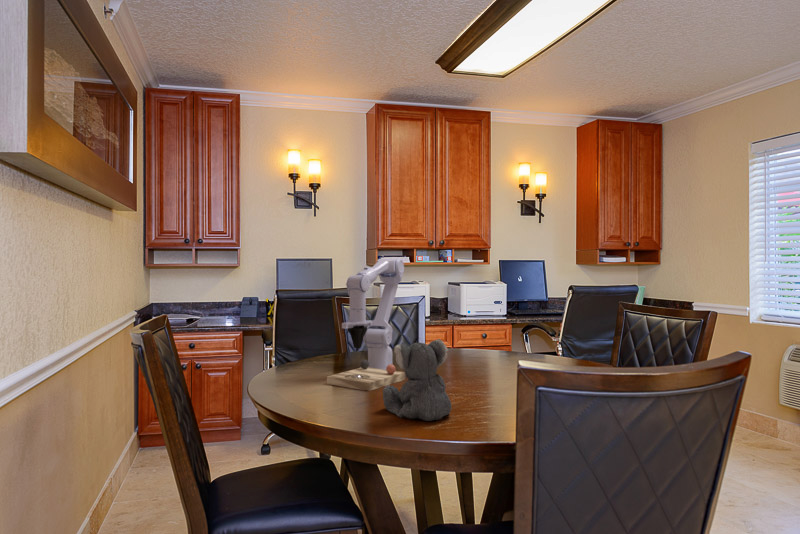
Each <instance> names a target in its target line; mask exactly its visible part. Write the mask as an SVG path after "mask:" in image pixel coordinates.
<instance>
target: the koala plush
mask: <svg viewBox="0 0 800 534" xmlns="http://www.w3.org/2000/svg"><path fill="white" fill-rule="evenodd" d="M393 350H394V354H395V362H396V364H397V365H398V366H399V368H400V369H401V370H403V372H405V378H407V380H406V381H405V382H404V383H403V385H401V387H400V390H399V389H398V388H397V387H396V386H394V385H387V386H384V388H383V389H382V399H383V405H384V408H385V410H386V411H388V412H389V413H391V414H394V415H396V416H397V417H399V418H407V419H409V420H414V419H420V420H422V421H426V422H431V421H439V420H441V419H442V418H443V417H446V416H448V415H449V414H450V413H451V411H452V402H451V400H450V397H449V396H448V394H447V392H446V384H445V381H444V378H443V377H442V376H441V375H440V374H438V373H437V372H438V368H439V367H441V365H443V363H445V362H446V360H447V359H448V356H449V355H448V352H450V350H449V349H448V347H447V344H445V342H444V341H443V340H441V339H439V338H438V339H434V340H432V341H430V343H428V344H426V343H425V342H414V343H412V344H410V345H408V346H407V345H406V344H403V343H402V344H396V345H395V346H394V349H393Z"/></svg>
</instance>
